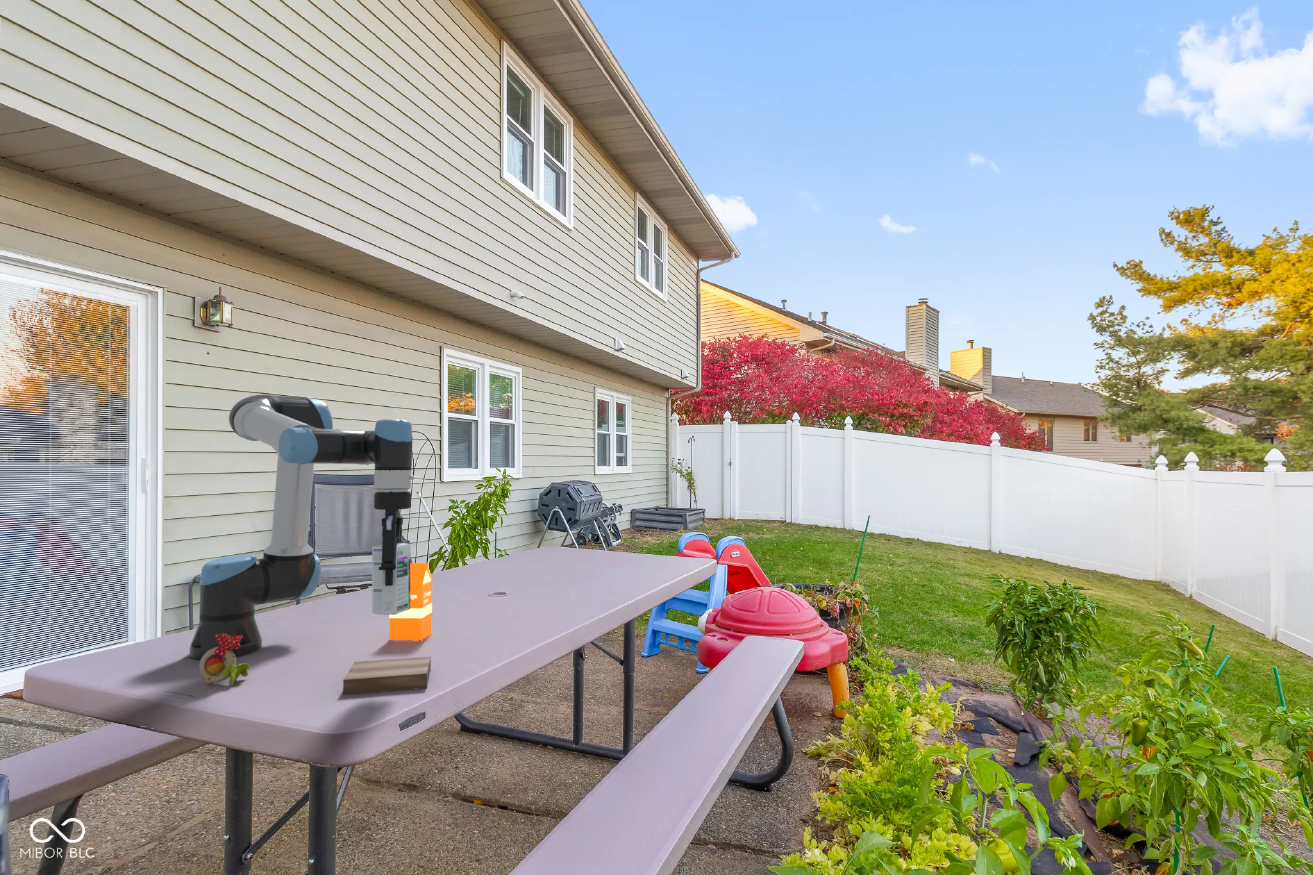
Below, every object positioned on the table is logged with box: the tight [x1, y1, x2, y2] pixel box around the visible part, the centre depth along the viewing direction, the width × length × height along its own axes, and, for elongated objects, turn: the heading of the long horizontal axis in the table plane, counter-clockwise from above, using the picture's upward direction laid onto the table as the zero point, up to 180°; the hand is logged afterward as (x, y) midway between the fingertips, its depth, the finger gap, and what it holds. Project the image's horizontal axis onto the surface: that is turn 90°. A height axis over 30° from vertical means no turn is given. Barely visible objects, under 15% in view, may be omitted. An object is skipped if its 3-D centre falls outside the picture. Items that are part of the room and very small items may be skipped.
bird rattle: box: [199, 633, 251, 687], centre depth 142 cm, size 6×11×9 cm
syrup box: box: [371, 542, 411, 615], centre depth 144 cm, size 6×6×14 cm
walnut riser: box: [342, 656, 432, 696], centre depth 143 cm, size 13×16×3 cm
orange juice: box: [388, 562, 433, 642], centre depth 181 cm, size 8×9×20 cm
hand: (391, 597), depth 144 cm, fingers closed on syrup box, 7 cm apart
